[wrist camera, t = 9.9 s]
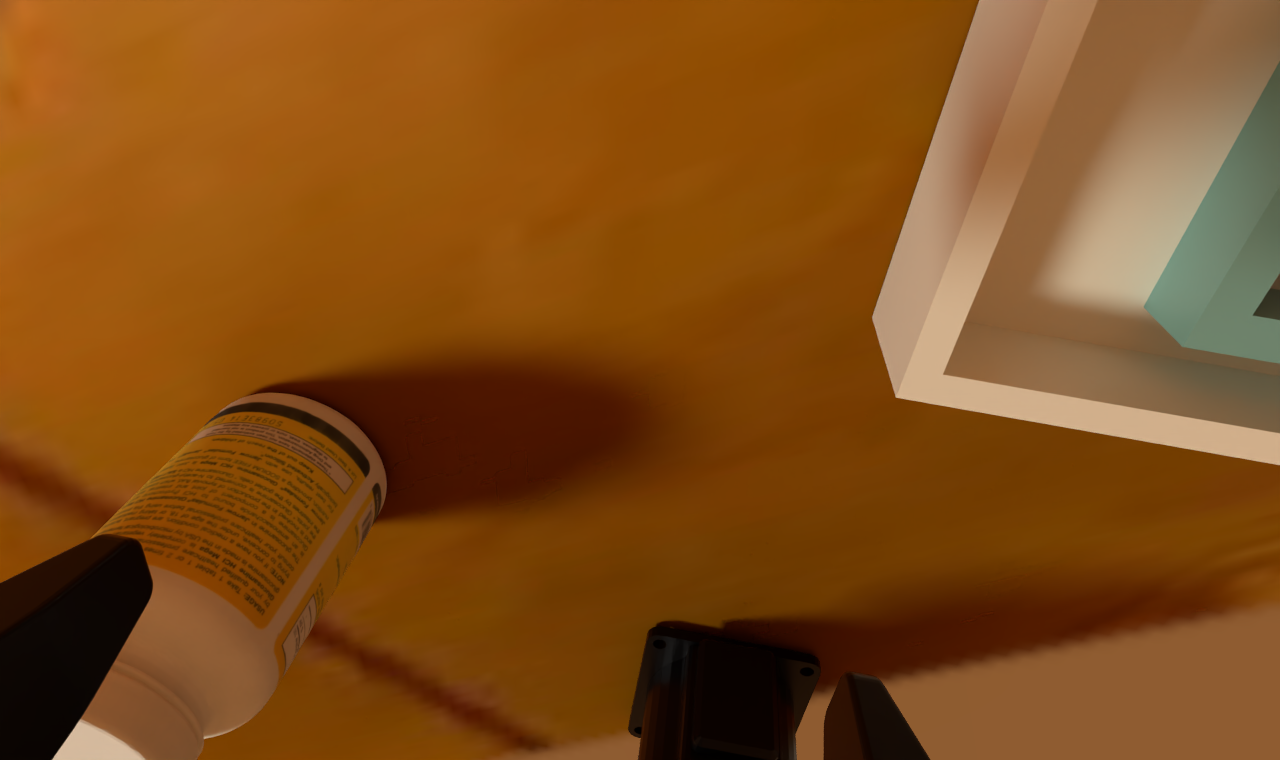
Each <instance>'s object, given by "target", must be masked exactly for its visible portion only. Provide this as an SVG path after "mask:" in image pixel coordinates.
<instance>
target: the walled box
mask: <svg viewBox="0 0 1280 760" xmlns="http://www.w3.org/2000/svg"><path fill="white" fill-rule="evenodd" d="M872 319H873V322H874V326H875V329H876V332H877V336H878V339H879V342H880V346H881V349H882V352H883V356H884V359H885V362H886V366H887V369H888V372H889V376H890V379H891V382H892V386H893V389H894V392H895V396H896V398H902V399H907V400H913V401H919V402H925V403H930V404H936V405H942V406H947V407H953V408H959V409H964V410H970V411H976V412H981V413H987V414H993V415H998V416H1004V417H1010V418H1015V419H1021V420H1027V421H1032V422H1038V423H1044V424H1050V425H1055V426H1061V427H1067V428H1072V429H1078V430H1084V431H1089V432H1095V433H1101V434H1106V435H1112V436H1118V437H1123V438H1129V439H1135V440H1140V441H1146V442H1152V443H1157V444H1163V445H1169V446H1175V447H1180V448H1186V449H1192V450H1197V451H1203V452H1209V453H1214V454H1220V455H1226V456H1231V457H1237V458H1243V459H1248V460H1254V461H1260V462H1265V463H1271V464H1277V465H1280V0H979V3H978V6H977V9H976V12H975V15H974V18H973V21H972V24H971V27H970V30H969V33H968V36H967V39H966V41H965V44H964V47H963V50H962V53H961V56H960V59H959V62H958V65H957V68H956V71H955V74H954V77H953V80H952V83H951V86H950V89H949V92H948V95H947V98H946V101H945V104H944V106H943V109H942V112H941V115H940V118H939V121H938V124H937V127H936V130H935V133H934V136H933V139H932V142H931V145H930V148H929V151H928V154H927V157H926V160H925V163H924V166H923V169H922V171H921V174H920V177H919V180H918V183H917V186H916V189H915V192H914V195H913V198H912V201H911V204H910V207H909V210H908V213H907V216H906V219H905V222H904V225H903V228H902V231H901V234H900V236H899V239H898V242H897V245H896V248H895V251H894V254H893V257H892V260H891V263H890V266H889V269H888V272H887V275H886V278H885V281H884V284H883V287H882V290H881V293H880V296H879V299H878V301H877V304H876V307H875V310H874V313H873V316H872Z"/></svg>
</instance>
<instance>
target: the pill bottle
mask: <svg viewBox="0 0 1280 760" xmlns="http://www.w3.org/2000/svg"><path fill="white" fill-rule="evenodd" d="M386 490H387V481H386V473H385V469H384V466H383V463H382V461H381V458H380V456H379V454H378V452H377V451H376V449H375V447H374V446H373V444H372V443H371V441H370V440H369V439H368V437H367V436H366V435H365V434H364V433H363V431H362V430H361V429H360V428H359V427H358V426H357V425H356V424H354V423H353V422H352V421H351V420H349V419H348V418H347V417H345V416H344V415H342V414H340V413H339V412H337V411H335V410H334V409H332V408H330V407H328V406H326V405H324V404H321V403H319V402H317V401H314V400H311V399H308V398H305V397H301V396H297V395H292V394H284V393H260V394H254V395H250V396H246V397H243V398H241V399H239V400H236V401H234V402H233V403H231V404H229V405H228V406H226V407H225V408H224V409H222V410H221V411H220V412H219V413H218V414H217V415H216V416H214V417H213V418H212V419H211V420H210V421H209V422H208V423H207V424H206V425H205V426H204V427H203V428H202V429H201V430H200V431H199V432H198V433H197V434H196V435H195V436H194V437H193V438H192V439H191V440H190V441H189V442H188V443H187V444H186V445H185V446H184V447H183V448H182V449H181V450H180V451H179V452H178V453H177V454H176V455H175V456H174V457H173V458H172V459H171V460H170V461H169V462H167V463H166V464H165V465H164V466H163V467H162V468H161V469H160V470H159V471H158V472H157V473H156V474H155V475H154V476H153V477H152V478H151V479H150V480H149V481H148V482H147V483H146V484H145V485H144V486H143V487H142V488H141V489H140V490H139V491H138V492H137V493H136V494H135V495H134V496H133V497H132V498H131V499H130V500H129V501H128V502H127V503H126V504H125V505H124V506H123V507H122V508H121V509H120V510H119V511H118V512H117V513H116V514H115V515H114V516H113V517H112V518H111V519H110V520H109V521H108V522H107V523H106V524H105V525H104V526H103V527H102V528H101V529H100V530H99V531H98V532H97V533H96V534H95V535H94V536H93V537H96V536H98V535H102V534H115V535H120V536H125V537H131V538H135V539H137V540H138V541H139V542H140V543H141V545H142V548H143V551H144V554H145V557H146V560H147V563H148V567H149V570H150V573H151V576H152V579H153V591H152V595H151V598H150V600H149V602H148V604H147V606H146V608H145V609H144V611H143V613H142V615H141V616H140V618H139V620H138V622H137V623H136V625H135V627H134V629H133V630H132V632H131V634H130V636H129V637H128V639H127V641H126V643H125V644H124V646H123V648H122V650H121V651H120V653H119V655H118V657H117V658H116V660H115V662H114V664H113V665H112V667H111V669H110V671H109V672H108V674H107V676H106V678H105V679H104V681H103V683H102V685H101V686H100V688H99V690H98V692H97V693H96V695H95V697H94V698H93V700H92V702H91V703H90V705H89V707H88V708H87V710H86V711H85V713H84V715H83V716H82V717H81V719H80V720H79V722H78V723H77V725H76V726H75V728H74V729H73V731H72V732H71V734H70V735H69V737H68V738H67V739H66V741H65V742H64V744H63V745H62V746H61V748H60V749H59V751H58V752H57V754H56V755H55V756H54V758H53V759H52V760H197V758H198V756H199V755H200V753H201V752H202V749H203V745H204V739H205V738H210V737H214V736H218V735H222V734H224V733H227V732H230V731H232V730H234V729H236V728H238V727H240V726H241V725H243V724H245V723H246V722H248V721H249V720H250V719H252V718H253V717H254V716H255V715H256V714H257V713H258V712H259V711H260V710H261V709H262V708H263V707H264V705H265V704H266V703H267V701H268V700H269V698H270V697H271V695H272V694H273V692H274V691H275V689H276V688H277V686H278V685H279V683H280V681H281V679H282V678H283V676H284V674H285V673H286V671H287V669H288V668H289V666H290V664H291V663H292V661H293V659H294V658H295V656H296V654H297V652H298V651H299V649H300V647H301V646H302V644H303V642H304V641H305V639H306V637H307V636H308V634H309V632H310V631H311V629H312V627H313V625H314V624H315V622H316V620H317V619H318V617H319V616H320V614H321V612H322V611H323V609H324V607H325V605H326V604H327V602H328V600H329V599H330V597H331V596H332V594H333V592H334V590H335V589H336V587H337V586H338V584H339V582H340V580H341V579H342V577H343V575H344V574H345V572H346V570H347V568H348V567H349V565H350V564H351V562H352V560H353V558H354V557H355V555H356V553H357V552H358V550H359V548H360V546H361V544H362V543H363V541H364V539H365V538H366V536H367V534H368V532H369V531H370V529H371V527H372V526H373V524H374V522H375V520H376V518H377V516H378V515H379V513H380V511H381V509H382V507H383V504H384V501H385V497H386ZM93 537H92V538H93Z"/></svg>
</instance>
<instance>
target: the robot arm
mask: <svg viewBox="0 0 1280 760" xmlns="http://www.w3.org/2000/svg"><path fill="white" fill-rule="evenodd" d="M152 591H153V579H152V576H151V573H150V570H149V567H148V563H147V560H146V557H145V554H144V551H143V548H142V545H141V543H140V542H139V541H138V540H137V539H135V538H131V537H125V536H120V535H115V534H102V535H98V536H96V537H93V538H91V539H89V540H87V541H85V542H83V543H81V544H79V545H77V546H75V547H73V548H71V549H69V550H67V551H65V552H63V553H61V554H59V555H57V556H55V557H53V558H51V559H49V560H47V561H44V562H42V563H40V564H38V565H36V566H34V567H32V568H30V569H28V570H26V571H24V572H22V573H20V574H18V575H16V576H14V577H12V578H10V579H8V580H6V581H4V582H2V583H0V760H52V759H53V758H54V756H55V755H56V754H57V752H58V751H59V749H60V748H61V746H62V745H63V744H64V742H65V741H66V739H67V738H68V737H69V735H70V734H71V732H72V731H73V729H74V728H75V726H76V725H77V723H78V722H79V720H80V719H81V717H82V716H83V715H84V713H85V711H86V710H87V708H88V707H89V705H90V703H91V702H92V700H93V698H94V697H95V695H96V693H97V692H98V690H99V688H100V686H101V685H102V683H103V681H104V679H105V678H106V676H107V674H108V672H109V671H110V669H111V667H112V665H113V664H114V662H115V660H116V658H117V657H118V655H119V653H120V651H121V650H122V648H123V646H124V644H125V643H126V641H127V639H128V637H129V636H130V634H131V632H132V630H133V629H134V627H135V625H136V623H137V622H138V620H139V618H140V616H141V615H142V613H143V611H144V609H145V608H146V606H147V604H148V602H149V600H150V598H151V595H152ZM820 673H821V669H820V661H819V659H818V658H817V657H815V656H814V655H811V654H806V653H801V652H795V651H790V650H784V649H779V648H774V647H768V646H763V645H758V644H752V643H747V642H742V641H736V640H731V639H725V638H720V637H715V636H709V635H704V634H699V633H693V632H688V631H683V630H677V629H672V628H666V627H653V628H652V629H650V630H649V632H648V634H647V639H646V643H645V648H644V653H643V658H642V663H641V667H640V672H639V677H638V682H637V686H636V691H635V696H634V701H633V705H632V710H631V715H630V720H629V727H628V730H629V732H630V734H631V735H633V736H635V737H638V738H641V740H640V748H639V756H638V760H797V755H796V738H795V734H796V731H797V729H798V727H799V724H800V722H801V719H802V717H803V714H804V712H805V710H806V708H807V705H808V703H809V700H810V698H811V696H812V693H813V691H814V688H815V686H816V684H817V681H818V679H819V676H820ZM824 760H930V758H929V757H928V755H927V754H926V752H925V750H924V749H923V747H922V746H921V744H920V742H919V741H918V739H917V738H916V736H915V735H914V733H913V731H912V730H911V728H910V726H909V725H908V723H907V721H906V720H905V718H904V717H903V715H902V713H901V712H900V710H899V709H898V707H897V706H896V704H895V702H894V701H893V699H892V697H891V696H890V694H889V693H888V691H887V689H886V688H885V686H884V685H883V683H882V682H881V681H880V680H879V679H878V678H877V677H875V676H872V675H867V674H861V673H856V672H846V673H844V674H843V675H842V677H841V679H840V681H839V683H838V686H837V688H836V690H835V692H834V695H833V697H832V699H831V701H830V704H829V706H828V708H827V711H826V716H825V721H824Z"/></svg>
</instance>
